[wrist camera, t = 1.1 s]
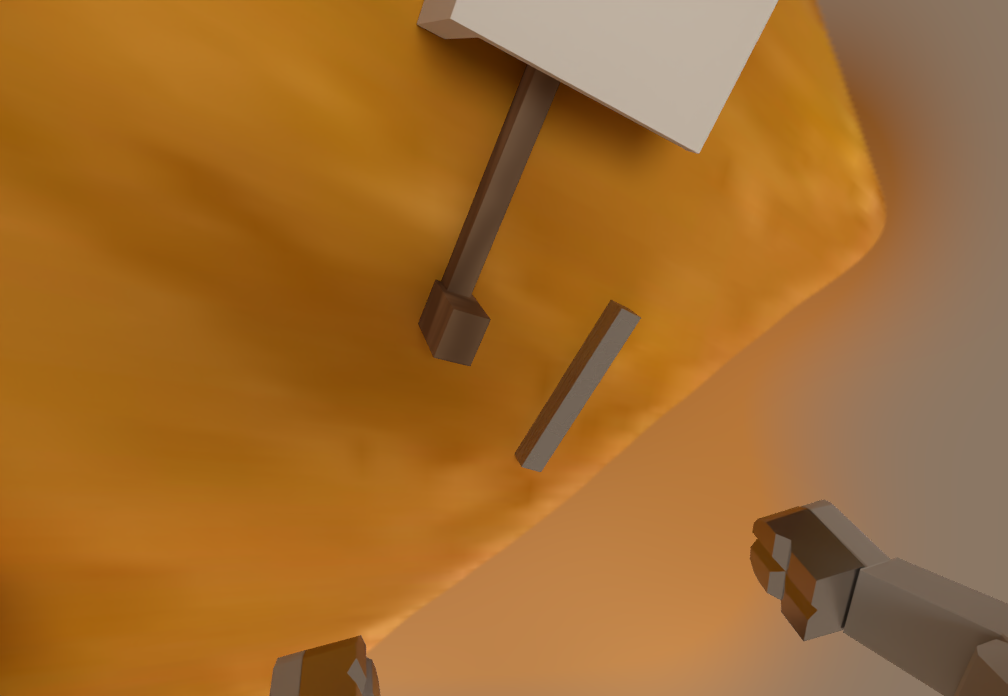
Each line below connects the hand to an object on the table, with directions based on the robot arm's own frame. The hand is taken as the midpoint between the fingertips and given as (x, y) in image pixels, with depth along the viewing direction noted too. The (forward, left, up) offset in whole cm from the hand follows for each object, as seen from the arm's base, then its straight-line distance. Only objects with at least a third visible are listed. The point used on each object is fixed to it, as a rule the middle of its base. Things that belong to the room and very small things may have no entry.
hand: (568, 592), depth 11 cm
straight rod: (+23, -10, -35) cm, 44 cm away
